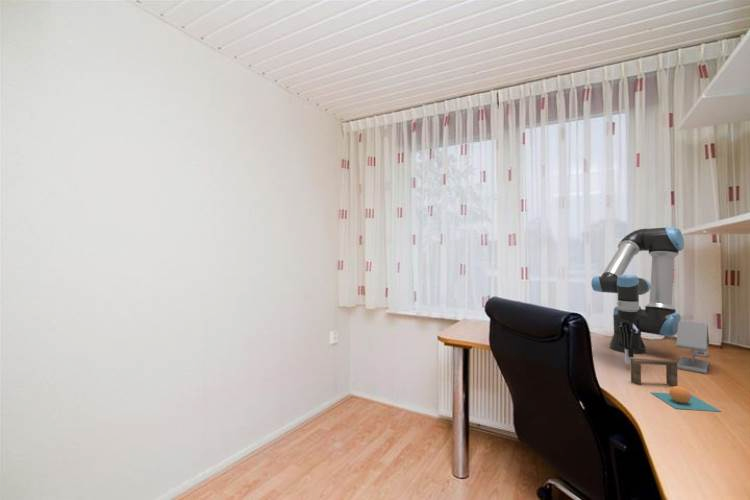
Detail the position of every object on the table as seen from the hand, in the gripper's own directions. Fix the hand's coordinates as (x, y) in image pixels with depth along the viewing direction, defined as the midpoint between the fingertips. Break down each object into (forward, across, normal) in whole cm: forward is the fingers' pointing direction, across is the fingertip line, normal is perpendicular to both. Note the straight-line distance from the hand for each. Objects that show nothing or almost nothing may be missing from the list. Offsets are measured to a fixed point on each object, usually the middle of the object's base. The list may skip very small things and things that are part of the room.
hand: (629, 363), depth 149 cm
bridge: (+2, +17, 0) cm, 17 cm away
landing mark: (+2, +33, 0) cm, 33 cm away
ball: (-1, +34, -2) cm, 34 cm away
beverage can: (+3, -28, +46) cm, 54 cm away
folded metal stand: (+3, -8, +30) cm, 31 cm away
